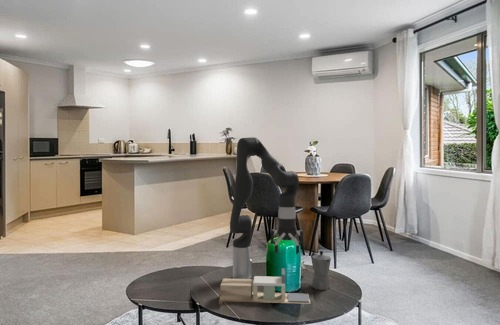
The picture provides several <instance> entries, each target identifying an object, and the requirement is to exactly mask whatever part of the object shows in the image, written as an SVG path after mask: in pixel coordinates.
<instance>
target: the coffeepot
mask: <svg viewBox="0 0 500 325" xmlns="http://www.w3.org/2000/svg"><path fill="white" fill-rule="evenodd" d="M310 258H311V262H312V264H311V265H312V269H313V276H312V281H311V287H312V288H313V289H314V288H315V290H317V289H319V290H318V291H327V290H330V289H331V283H330V277H329V271H330V265H331V260H332V258H331V256H329V255H326V254H324V251H322V250H321V251H319V254H318V253H317V252H312V253H311V255H310Z"/></svg>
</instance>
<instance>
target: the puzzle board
mask: <svg viewBox="0 0 500 325" xmlns="http://www.w3.org/2000/svg"><path fill="white" fill-rule="evenodd" d="M280 287H281V289H280V292H275V300H271V299H264V291H263V292H262V291H258V286H256V285H253V279H251V278H250V279H233V278H225V277H224V278H222V281H221V283H220V297H219V299H218V305H223V303H224V302H235V303H237V302H238V303H239V302H240V303H241V302H243V303H267V304H269V303H270V304H271V303H272V304H274V303H275V304H276V303H277V304H301V305H311V299H310V294H309V293H307V294H308V298H309V302H288V293H289V292H286V285H285V286H280ZM299 294H304V293H303V292H302V293H299Z"/></svg>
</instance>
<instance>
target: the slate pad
mask: <svg viewBox="0 0 500 325" xmlns="http://www.w3.org/2000/svg"><path fill="white" fill-rule="evenodd" d="M287 293H288V302H309V299H310V297H309V298H308V294H309V293H303V294H299V293H297V292H287Z"/></svg>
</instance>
